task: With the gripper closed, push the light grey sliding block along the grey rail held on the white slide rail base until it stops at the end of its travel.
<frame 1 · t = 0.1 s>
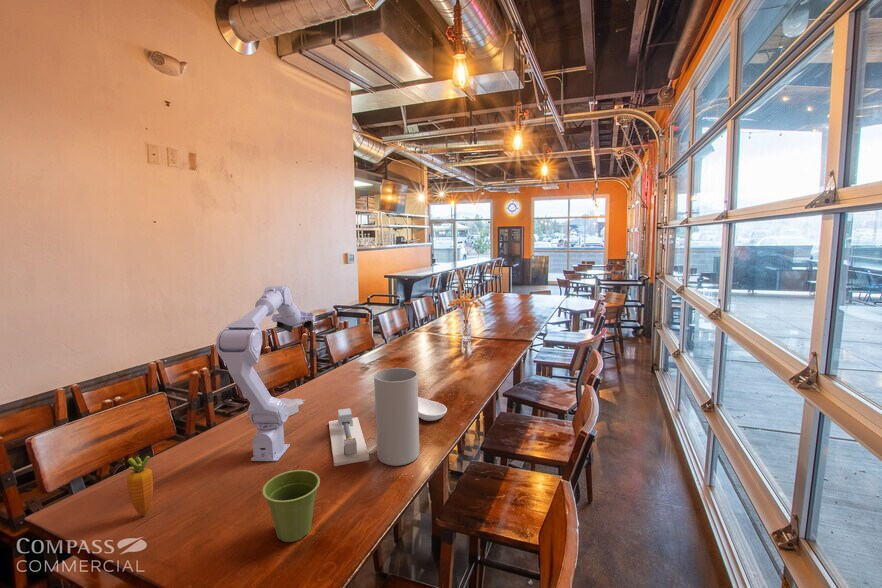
hand: (301, 329, 150), 32 cm above the table, fingers open, 7 cm apart
spoon rest: (415, 416, 153), on the table
plant pot: (295, 532, 92), on the table
cylinder vase: (398, 456, 124), on the table
carrot: (144, 516, 98), on the table
white slide rail base: (347, 440, 134), on the table
charger: (287, 412, 157), on the table
light grey sliding block: (345, 417, 138), point 6 cm above the table, slide at 0.0 cm
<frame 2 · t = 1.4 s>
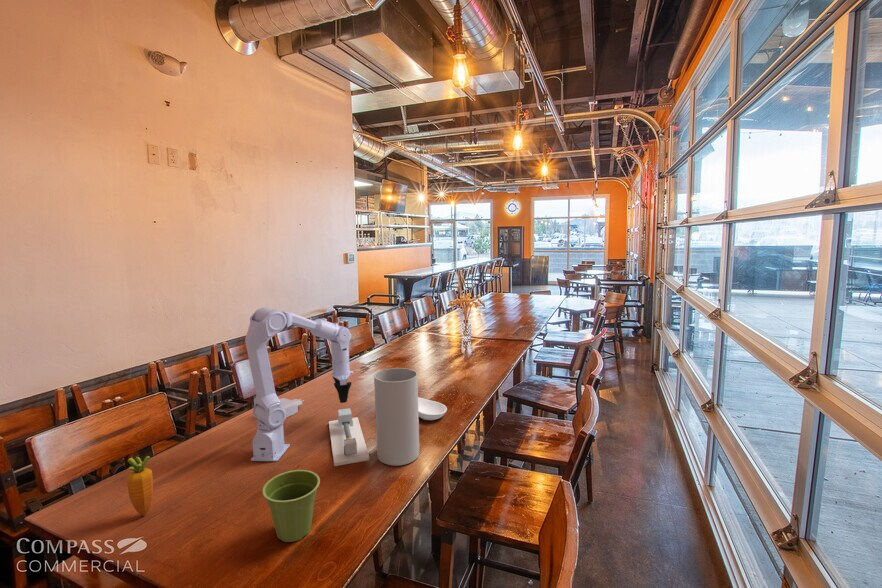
hand: (342, 398, 144), 9 cm above the table, fingers open, 7 cm apart
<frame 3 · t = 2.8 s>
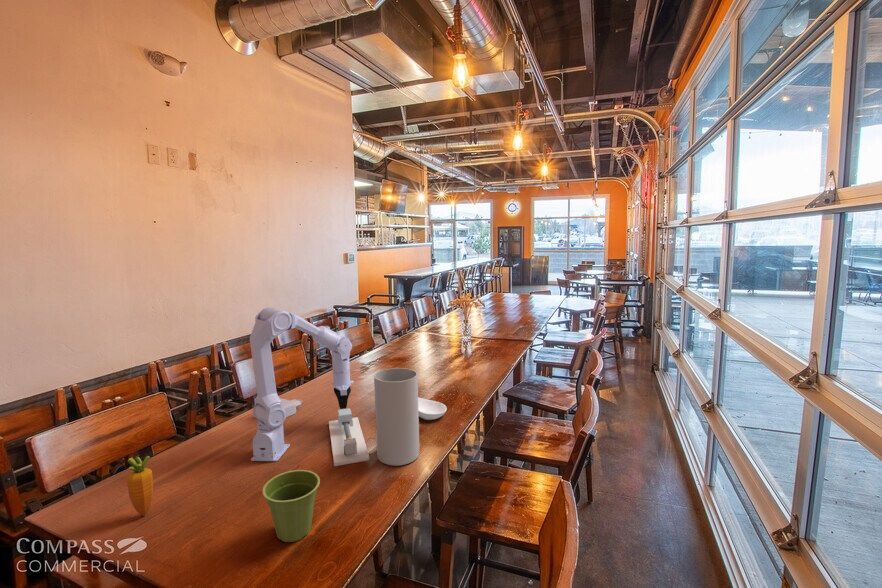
hand: (343, 408, 145), 6 cm above the table, fingers closed
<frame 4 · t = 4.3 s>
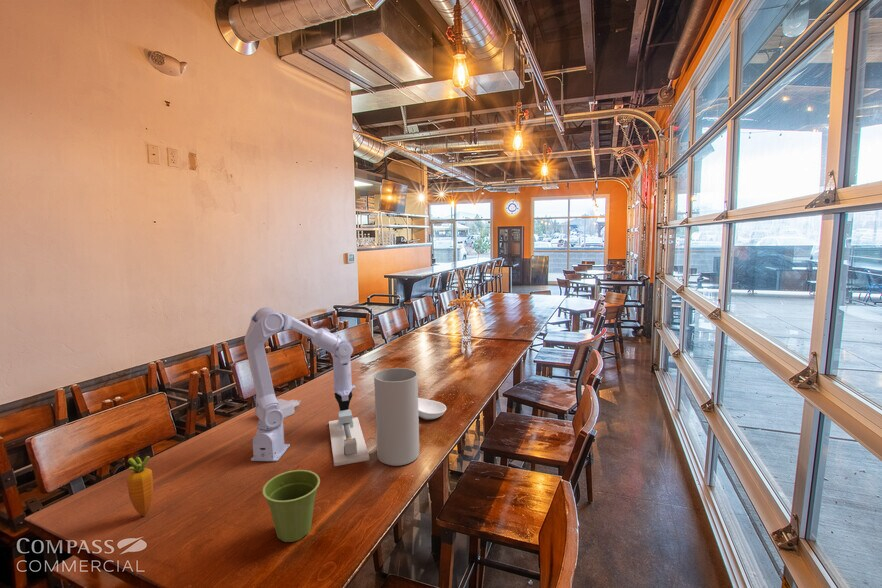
hand: (344, 413, 140), 6 cm above the table, fingers closed
light grey sliding block: (345, 419, 137), point 6 cm above the table, slide at 1.1 cm, touching gripper
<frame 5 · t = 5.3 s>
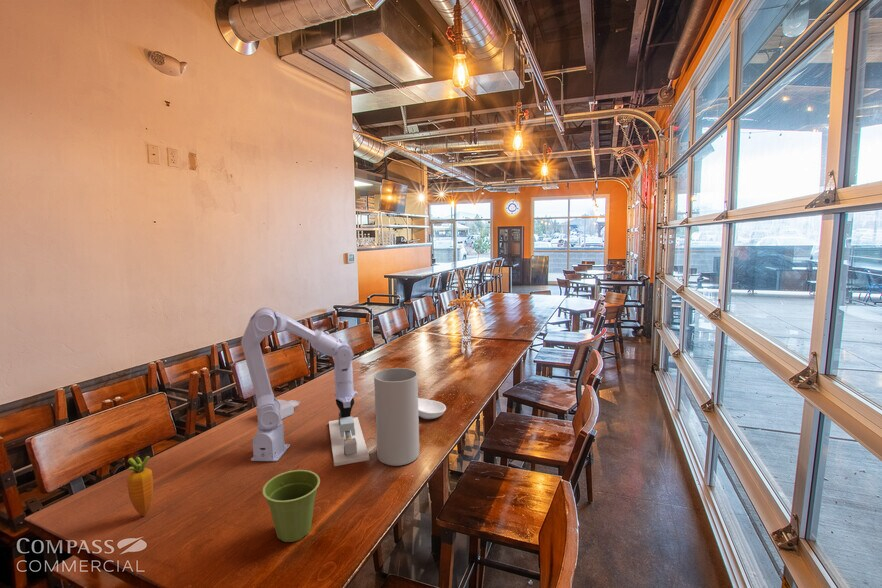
hand: (345, 420, 135), 6 cm above the table, fingers closed
light grey sliding block: (347, 426, 131), point 6 cm above the table, slide at 6.9 cm, touching gripper
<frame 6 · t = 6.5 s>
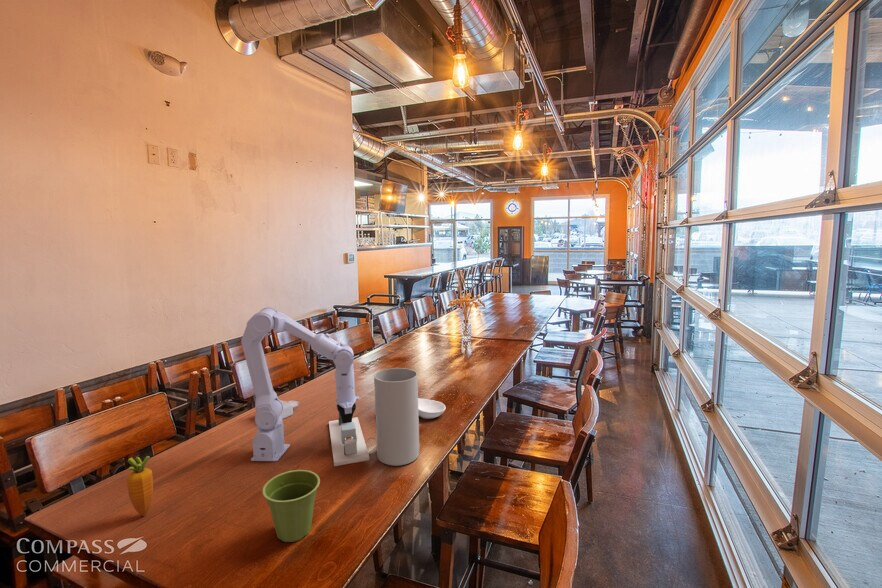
hand: (347, 426, 130), 6 cm above the table, fingers closed
light grey sliding block: (348, 432, 127), point 6 cm above the table, slide at 11.2 cm, touching gripper
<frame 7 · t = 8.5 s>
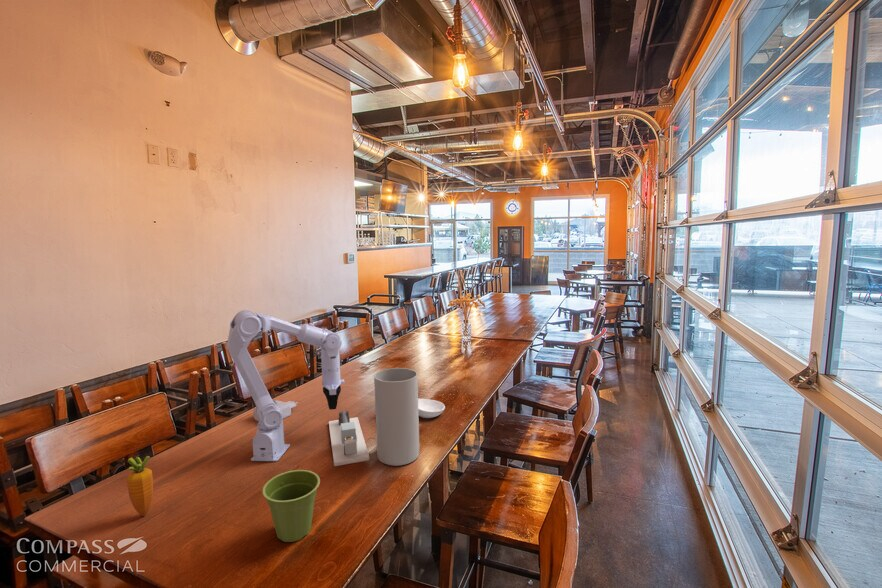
hand: (332, 408, 136), 9 cm above the table, fingers closed
light grey sliding block: (348, 432, 127), point 5 cm above the table, slide at 11.2 cm
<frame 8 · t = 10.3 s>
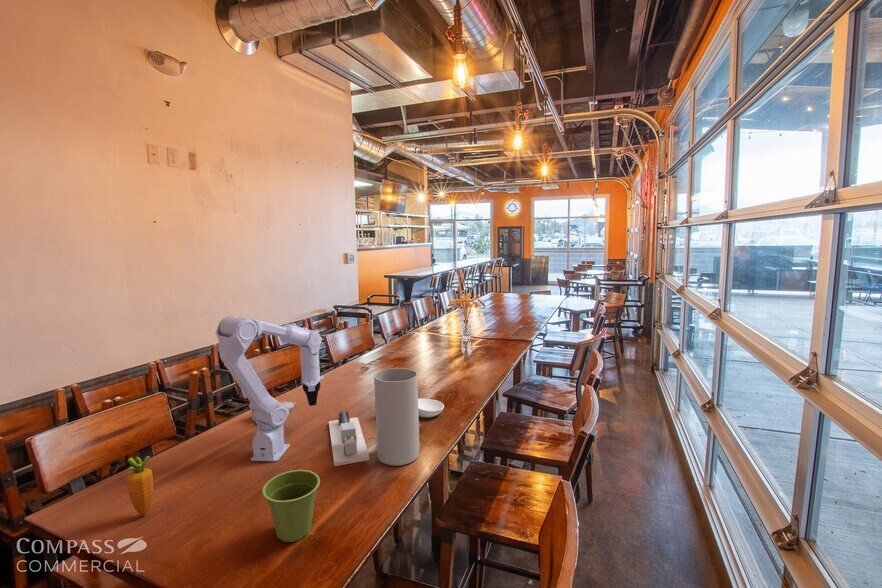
hand: (312, 404, 139), 9 cm above the table, fingers closed
at the end: light grey sliding block slide at 11.2 cm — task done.
